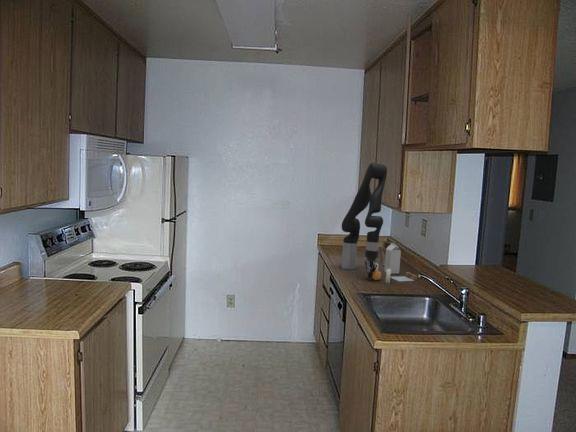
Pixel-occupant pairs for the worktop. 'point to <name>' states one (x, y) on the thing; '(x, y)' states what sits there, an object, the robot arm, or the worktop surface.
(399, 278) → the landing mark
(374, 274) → the ball
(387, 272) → the right post
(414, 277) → the backstop strip
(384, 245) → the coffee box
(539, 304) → the worktop surface
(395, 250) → the milk carton
